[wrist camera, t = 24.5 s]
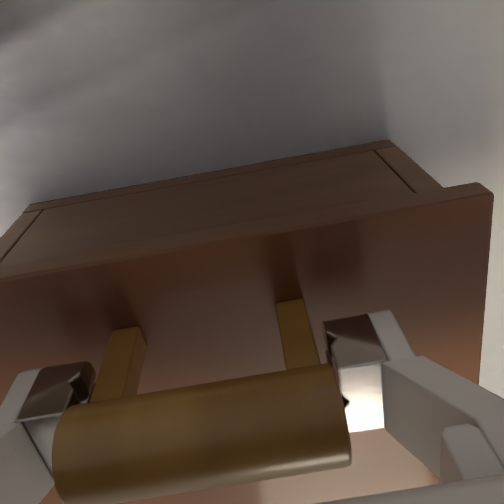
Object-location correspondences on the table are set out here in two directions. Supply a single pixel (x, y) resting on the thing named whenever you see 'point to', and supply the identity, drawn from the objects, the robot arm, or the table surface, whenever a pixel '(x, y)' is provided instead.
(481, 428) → the robot arm
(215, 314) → the lid
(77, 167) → the table surface
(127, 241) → the chest
